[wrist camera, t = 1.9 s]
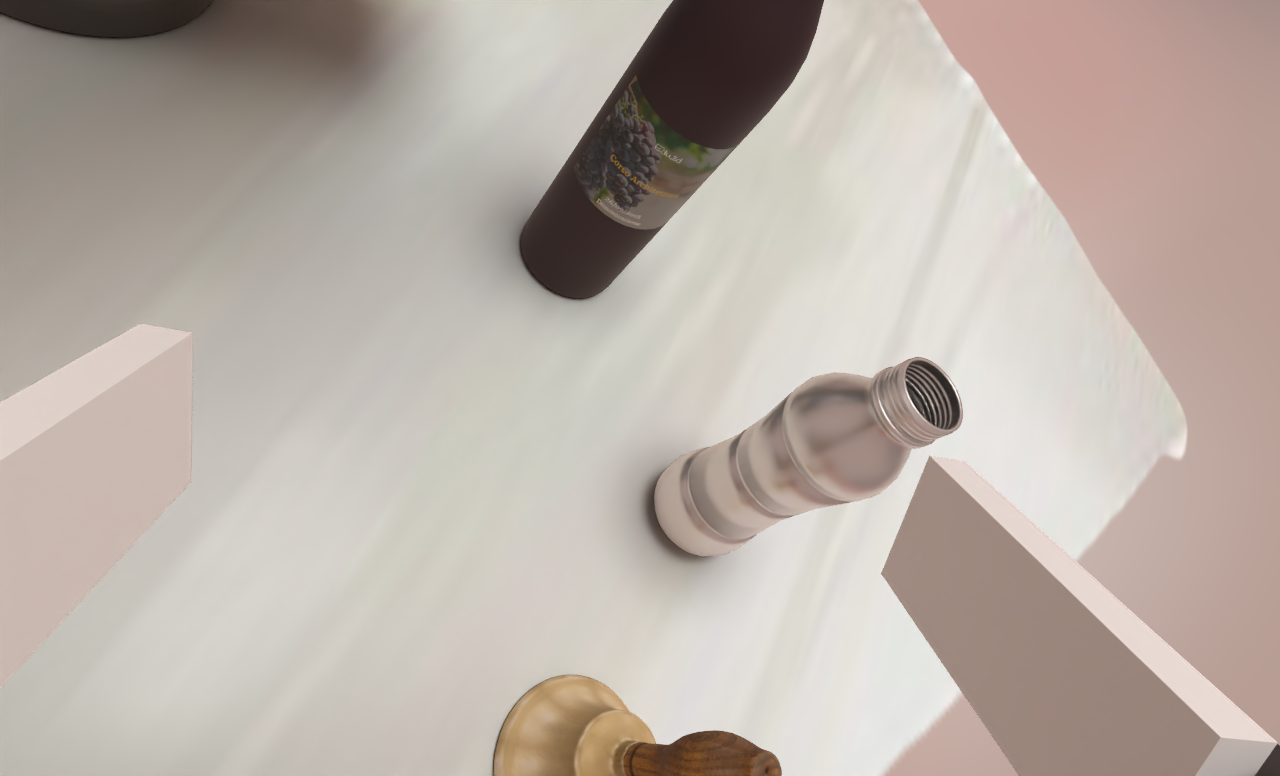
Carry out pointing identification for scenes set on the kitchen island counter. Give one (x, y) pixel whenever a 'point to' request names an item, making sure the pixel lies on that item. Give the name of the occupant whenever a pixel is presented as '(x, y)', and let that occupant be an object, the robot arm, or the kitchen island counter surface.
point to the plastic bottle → (806, 455)
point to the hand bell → (610, 739)
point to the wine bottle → (664, 134)
